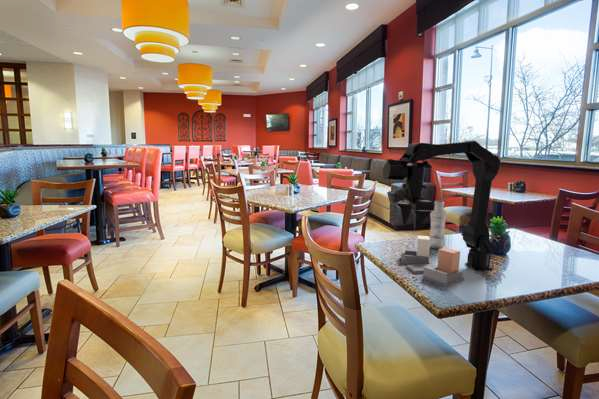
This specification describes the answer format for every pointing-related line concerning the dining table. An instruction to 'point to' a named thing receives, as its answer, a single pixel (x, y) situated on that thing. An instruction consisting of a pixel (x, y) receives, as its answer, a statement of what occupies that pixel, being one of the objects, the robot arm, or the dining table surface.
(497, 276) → the dining table surface
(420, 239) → the cream key
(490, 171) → the robot arm
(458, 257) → the terracotta key
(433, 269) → the grey tray
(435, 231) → the plastic bottle
